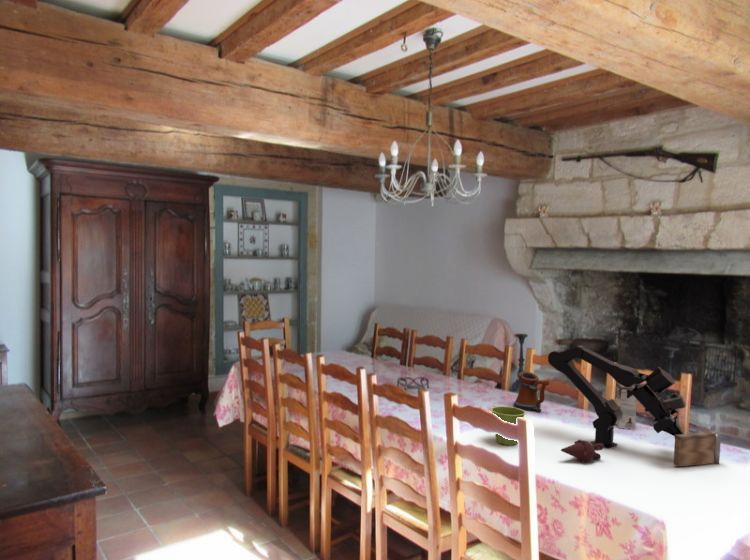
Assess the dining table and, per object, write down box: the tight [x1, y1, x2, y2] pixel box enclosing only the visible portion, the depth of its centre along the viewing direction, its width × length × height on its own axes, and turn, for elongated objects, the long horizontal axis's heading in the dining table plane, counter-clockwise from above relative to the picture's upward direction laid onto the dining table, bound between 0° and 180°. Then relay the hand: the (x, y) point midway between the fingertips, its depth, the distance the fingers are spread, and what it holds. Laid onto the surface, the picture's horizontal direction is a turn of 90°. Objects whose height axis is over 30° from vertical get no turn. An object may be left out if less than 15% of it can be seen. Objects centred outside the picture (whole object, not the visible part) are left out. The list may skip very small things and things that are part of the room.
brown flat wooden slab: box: [673, 431, 716, 467], centre depth 180 cm, size 14×2×10 cm, turn 107°
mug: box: [513, 371, 551, 413], centre depth 239 cm, size 18×12×15 cm, turn 24°
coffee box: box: [614, 382, 638, 430], centre depth 220 cm, size 9×6×16 cm
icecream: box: [560, 439, 605, 463], centre depth 180 cm, size 7×7×15 cm
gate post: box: [712, 432, 722, 465], centre depth 182 cm, size 2×2×10 cm
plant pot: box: [490, 405, 527, 446], centre depth 196 cm, size 12×12×11 cm
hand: (685, 440), depth 182 cm, fingers closed
